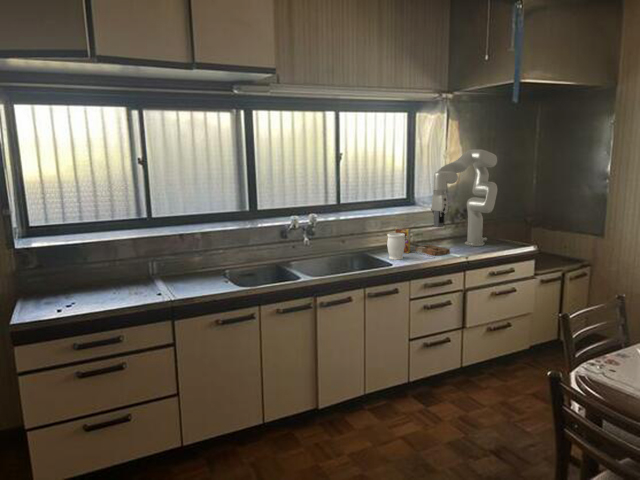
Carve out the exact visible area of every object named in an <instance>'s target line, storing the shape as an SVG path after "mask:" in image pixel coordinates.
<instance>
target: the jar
mask: <svg viewBox="0 0 640 480" xmlns="http://www.w3.org/2000/svg"><path fill="white" fill-rule="evenodd" d="M386 236H387V243H386V244H387V252H388V255H389V256H388V259H389V260H393V261H394V260H395V261H400V260H403V259H404V257H403V255H404V254H405V253H404V247H405V240H404V236H405V234H403V233H395V232H390V233H389V232H388V233H387V234H386Z"/></svg>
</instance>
